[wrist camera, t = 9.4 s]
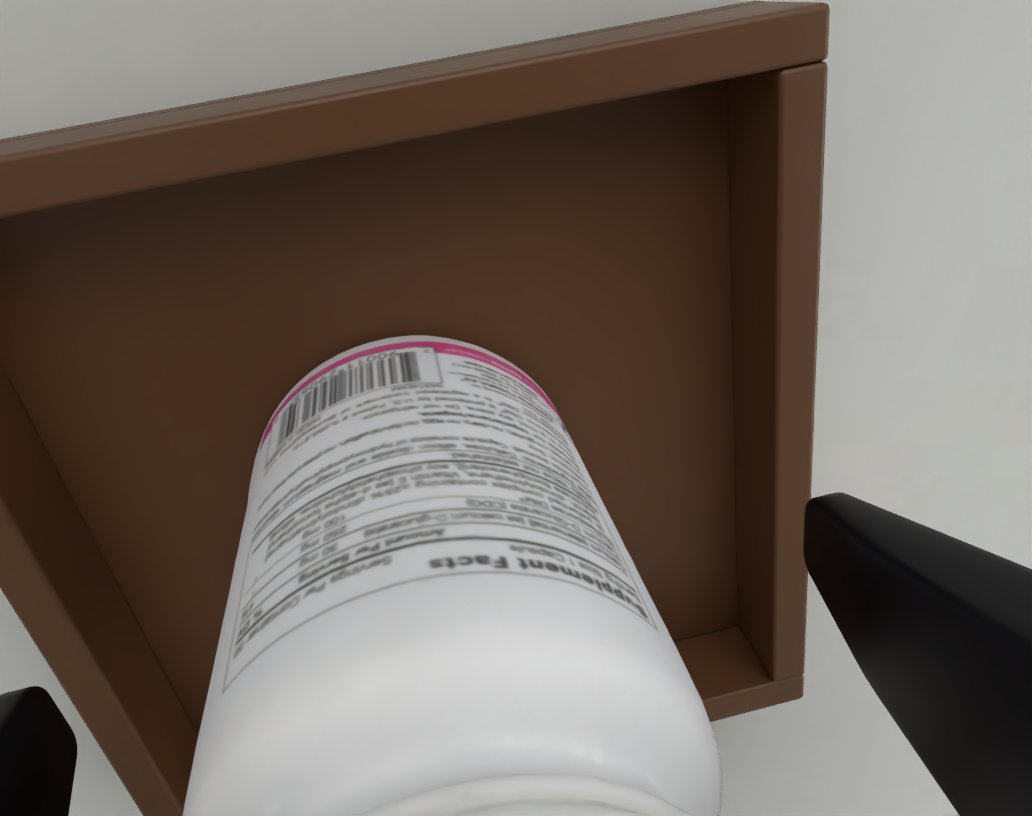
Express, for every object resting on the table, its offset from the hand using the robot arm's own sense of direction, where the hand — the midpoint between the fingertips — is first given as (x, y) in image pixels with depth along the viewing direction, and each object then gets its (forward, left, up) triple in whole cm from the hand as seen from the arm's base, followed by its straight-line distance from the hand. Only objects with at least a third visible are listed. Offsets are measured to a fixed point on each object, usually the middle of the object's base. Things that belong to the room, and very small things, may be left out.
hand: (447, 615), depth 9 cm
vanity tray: (0, 0, -4) cm, 4 cm away
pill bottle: (0, 0, -4) cm, 4 cm away
